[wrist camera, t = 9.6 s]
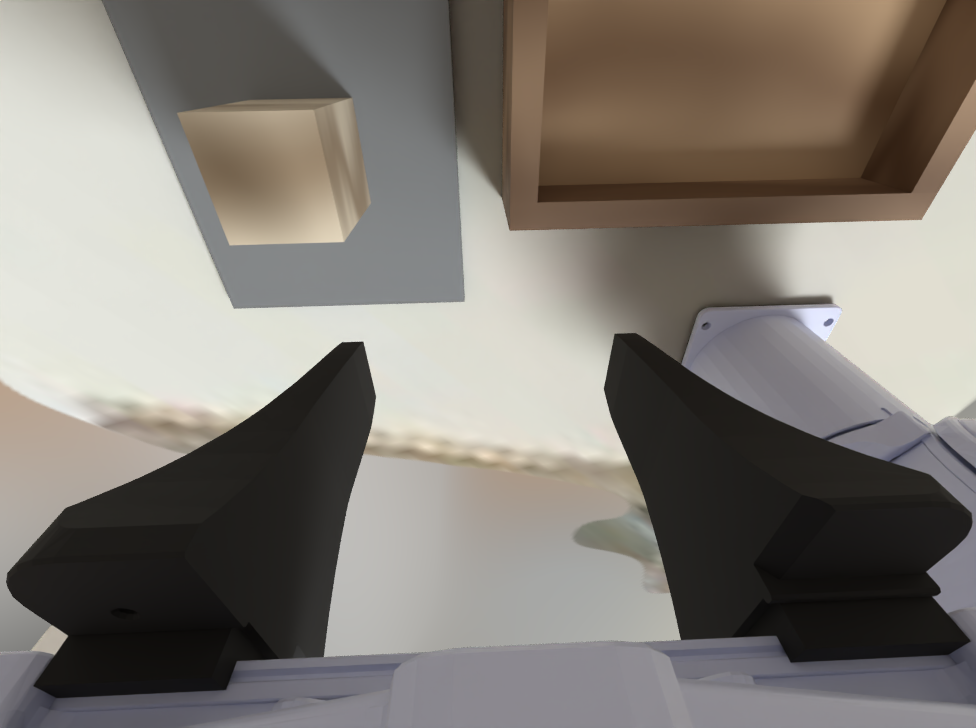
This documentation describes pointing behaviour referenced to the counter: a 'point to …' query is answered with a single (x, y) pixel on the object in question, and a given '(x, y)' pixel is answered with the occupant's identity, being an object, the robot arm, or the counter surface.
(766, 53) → the walnut crate
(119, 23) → the grey mat
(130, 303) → the counter surface
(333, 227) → the birch block
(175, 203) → the counter surface
